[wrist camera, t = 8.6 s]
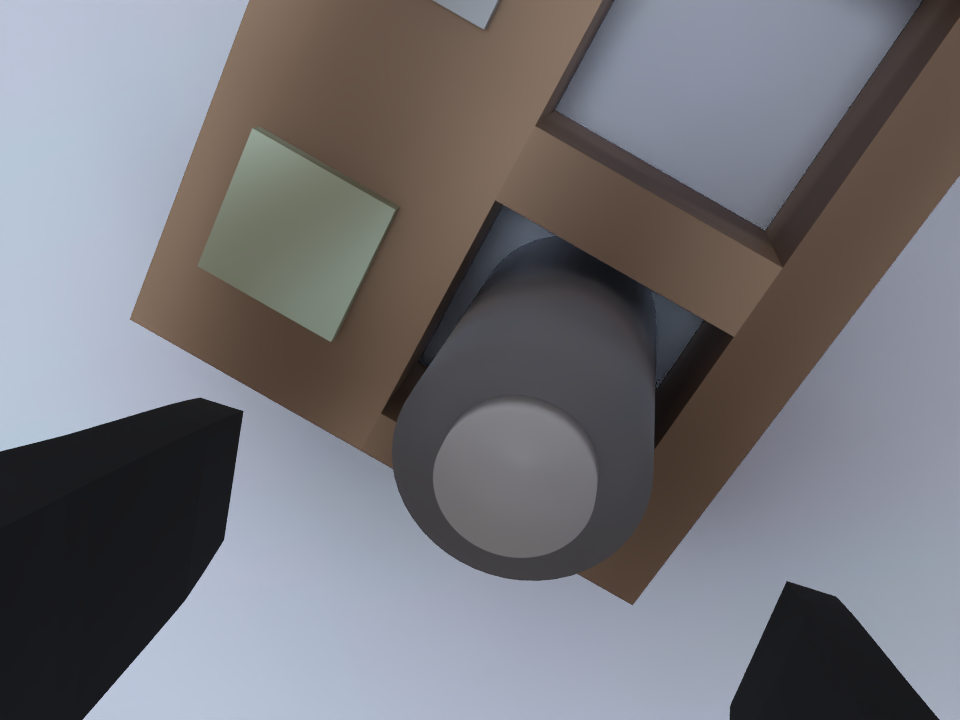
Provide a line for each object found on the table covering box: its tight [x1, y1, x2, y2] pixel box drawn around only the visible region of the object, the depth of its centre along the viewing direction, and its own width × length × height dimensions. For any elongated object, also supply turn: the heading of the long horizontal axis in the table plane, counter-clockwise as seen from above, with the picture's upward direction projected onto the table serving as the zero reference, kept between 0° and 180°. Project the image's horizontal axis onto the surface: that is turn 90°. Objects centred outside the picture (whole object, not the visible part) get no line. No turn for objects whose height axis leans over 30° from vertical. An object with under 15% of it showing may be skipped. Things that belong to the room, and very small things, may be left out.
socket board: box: [130, 0, 960, 605], centre depth 16 cm, size 12×20×3 cm, turn 152°
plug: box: [392, 236, 657, 581], centre depth 17 cm, size 4×4×8 cm
